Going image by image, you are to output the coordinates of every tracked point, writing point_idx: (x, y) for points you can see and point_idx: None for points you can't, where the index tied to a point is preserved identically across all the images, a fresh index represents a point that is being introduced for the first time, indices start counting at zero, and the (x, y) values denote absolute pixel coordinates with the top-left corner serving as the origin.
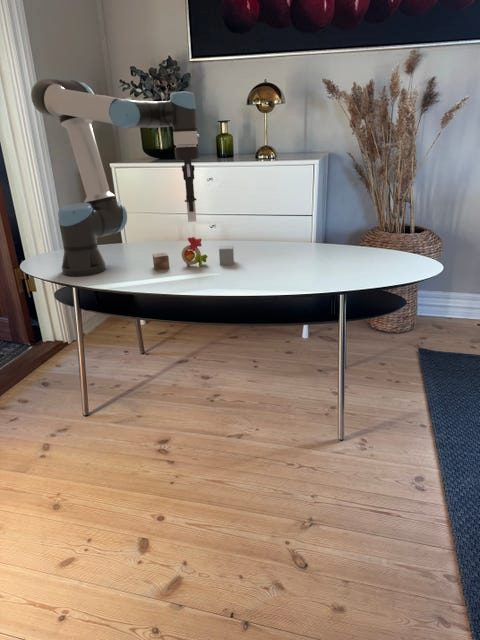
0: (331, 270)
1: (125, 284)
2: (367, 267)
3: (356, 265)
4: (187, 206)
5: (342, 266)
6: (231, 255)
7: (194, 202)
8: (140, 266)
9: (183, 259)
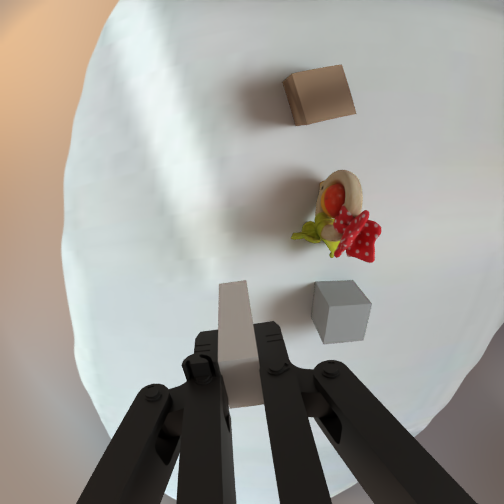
0: None
1: (131, 28)
2: (241, 487)
3: (255, 480)
4: (218, 342)
5: (252, 470)
6: (318, 327)
7: (228, 400)
8: (338, 32)
9: (331, 174)
